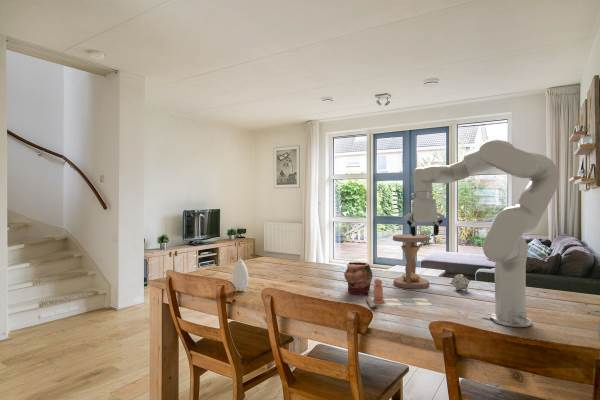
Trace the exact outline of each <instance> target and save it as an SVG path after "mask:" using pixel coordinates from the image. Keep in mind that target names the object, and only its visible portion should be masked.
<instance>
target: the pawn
mask: <svg viewBox="0 0 600 400" xmlns="http://www.w3.org/2000/svg"><path fill="white" fill-rule="evenodd" d="M373 282H374V284H373V298H372V299H373V303H378V304H381V303H384V301H385V300H384V299H385V298H384V297H383V296H384V293H383V289H384V287H383V285H382V284H383V281H382V279H381V278H375V279H374V281H373Z"/></svg>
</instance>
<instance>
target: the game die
mask: <svg viewBox="0 0 600 400" xmlns="http://www.w3.org/2000/svg"><path fill="white" fill-rule="evenodd" d="M471 281H472V279H469V278H468V277H466V274H463V272H462V273H461V274H455V273H453V278H452V280H451V282H449V285H452V286H453V287H454V288H455V289H456V290H458V291H457V292H458V293H459V292H460V291H462V290H466V291H468V287H469V283H470V282H471Z"/></svg>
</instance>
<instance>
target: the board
mask: <svg viewBox="0 0 600 400" xmlns="http://www.w3.org/2000/svg"><path fill="white" fill-rule="evenodd" d="M373 299H374V298H371V297H369V298H366V302H367V305H368V306H369V308H370V310H378V307H377V306H417V305H418V306H432V305H433V304H432V303H431V302H430V301H429V300H428V299H426V298H423V297H422V298H418V297H417V298H415V297H414V298H409V297H408V298H407V297H406V298H402V297H401V298H383V299H384V303H381V304H378V303H373Z"/></svg>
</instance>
